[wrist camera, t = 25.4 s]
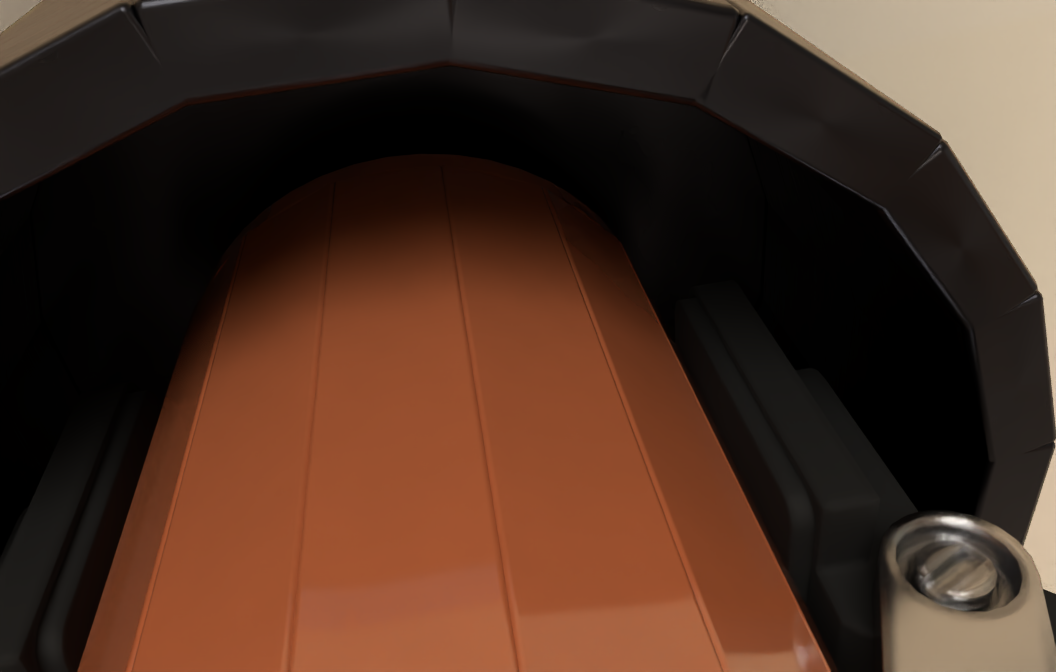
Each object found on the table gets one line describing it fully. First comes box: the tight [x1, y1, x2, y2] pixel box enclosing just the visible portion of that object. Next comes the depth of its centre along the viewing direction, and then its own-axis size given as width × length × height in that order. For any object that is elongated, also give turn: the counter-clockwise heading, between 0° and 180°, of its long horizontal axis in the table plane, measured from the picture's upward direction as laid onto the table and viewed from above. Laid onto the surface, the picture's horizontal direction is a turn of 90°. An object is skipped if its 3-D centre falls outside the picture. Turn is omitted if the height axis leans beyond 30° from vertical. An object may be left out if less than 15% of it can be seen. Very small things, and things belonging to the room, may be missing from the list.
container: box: [77, 154, 839, 672], centre depth 9 cm, size 6×6×8 cm
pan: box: [0, 0, 1056, 557], centre depth 11 cm, size 12×12×6 cm
